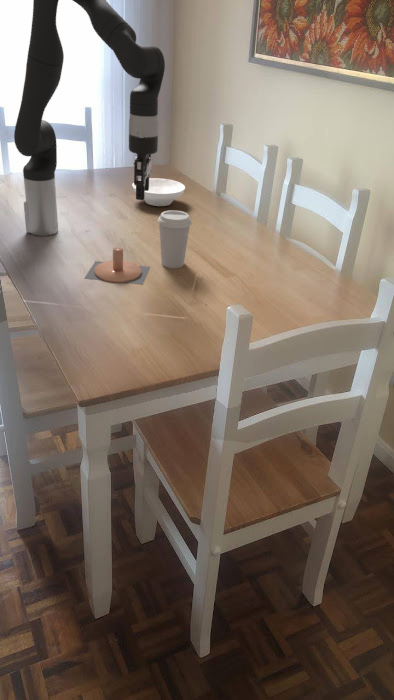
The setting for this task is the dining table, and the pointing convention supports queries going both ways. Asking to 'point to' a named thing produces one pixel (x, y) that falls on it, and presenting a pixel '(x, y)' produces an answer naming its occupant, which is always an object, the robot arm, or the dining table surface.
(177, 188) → the bowl
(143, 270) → the mat
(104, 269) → the lid
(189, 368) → the dining table surface
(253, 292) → the dining table surface
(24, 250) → the dining table surface
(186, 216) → the coffee cup
